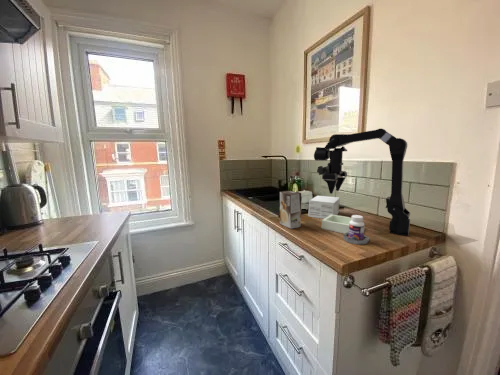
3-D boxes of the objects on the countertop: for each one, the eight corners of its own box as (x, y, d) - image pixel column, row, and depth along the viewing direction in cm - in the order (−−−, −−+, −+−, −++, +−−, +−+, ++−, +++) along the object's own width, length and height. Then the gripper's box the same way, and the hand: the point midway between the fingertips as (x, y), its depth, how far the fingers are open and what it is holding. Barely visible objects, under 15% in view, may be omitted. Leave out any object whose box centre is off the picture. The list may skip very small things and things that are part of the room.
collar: (370, 239, 87) (370, 235, 87) (365, 246, 81) (365, 242, 81) (347, 234, 93) (347, 230, 93) (341, 240, 86) (341, 237, 86)
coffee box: (301, 226, 103) (302, 193, 100) (290, 229, 100) (291, 194, 98) (289, 221, 111) (289, 190, 108) (278, 223, 108) (279, 191, 106)
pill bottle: (345, 239, 87) (347, 216, 86) (352, 236, 91) (354, 213, 89) (359, 243, 83) (360, 219, 82) (365, 240, 86) (367, 216, 85)
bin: (357, 227, 102) (358, 218, 101) (350, 234, 92) (350, 225, 92) (330, 222, 109) (331, 214, 109) (321, 228, 100) (321, 220, 99)
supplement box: (333, 220, 113) (334, 202, 111) (308, 217, 119) (308, 200, 118) (339, 212, 127) (340, 197, 125) (316, 210, 134) (316, 194, 132)
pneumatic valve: (293, 209, 135) (294, 190, 134) (309, 207, 139) (310, 188, 138) (298, 211, 130) (299, 191, 128) (314, 209, 134) (315, 190, 132)
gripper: (326, 160, 120) (325, 188, 122) (312, 161, 105) (311, 193, 108) (348, 160, 113) (346, 190, 115) (335, 161, 98) (334, 195, 101)
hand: (334, 192), depth 110 cm, fingers open, 9 cm apart
